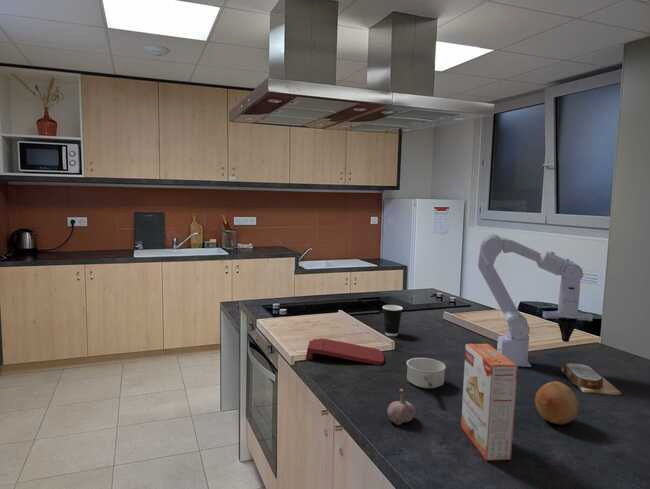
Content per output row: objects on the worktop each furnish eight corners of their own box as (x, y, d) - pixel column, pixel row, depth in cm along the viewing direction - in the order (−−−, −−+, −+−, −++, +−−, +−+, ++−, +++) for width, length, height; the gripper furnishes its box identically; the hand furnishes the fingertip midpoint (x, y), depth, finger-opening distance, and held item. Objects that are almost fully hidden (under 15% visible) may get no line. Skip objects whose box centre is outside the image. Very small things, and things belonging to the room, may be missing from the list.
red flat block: (379, 363, 162) (308, 349, 163) (382, 349, 162) (310, 335, 163) (381, 377, 150) (304, 361, 151) (384, 362, 150) (307, 347, 150)
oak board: (583, 392, 133) (583, 389, 133) (561, 370, 150) (561, 368, 150) (620, 395, 132) (621, 392, 132) (594, 372, 149) (594, 370, 149)
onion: (576, 436, 108) (580, 394, 107) (530, 423, 113) (533, 384, 112) (579, 419, 116) (582, 381, 115) (536, 408, 121) (539, 372, 120)
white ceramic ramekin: (407, 402, 123) (408, 381, 123) (404, 373, 143) (405, 356, 143) (451, 406, 122) (452, 385, 121) (442, 376, 142) (443, 359, 141)
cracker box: (458, 428, 110) (464, 342, 108) (483, 427, 110) (489, 342, 108) (484, 462, 96) (490, 364, 94) (511, 461, 97) (519, 364, 94)
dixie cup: (401, 332, 187) (403, 305, 186) (401, 338, 179) (402, 310, 178) (381, 330, 188) (383, 304, 187) (380, 336, 180) (381, 308, 179)
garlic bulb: (395, 429, 108) (397, 397, 108) (379, 415, 115) (381, 384, 114) (422, 424, 111) (424, 392, 111) (405, 411, 118) (407, 380, 117)
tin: (576, 387, 134) (607, 392, 133) (578, 377, 134) (609, 382, 132) (559, 369, 149) (587, 373, 148) (560, 359, 149) (589, 363, 147)
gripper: (549, 301, 146) (546, 343, 147) (598, 303, 144) (594, 346, 145) (541, 296, 153) (538, 336, 154) (588, 299, 151) (584, 339, 152)
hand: (565, 340), depth 150 cm, fingers closed
